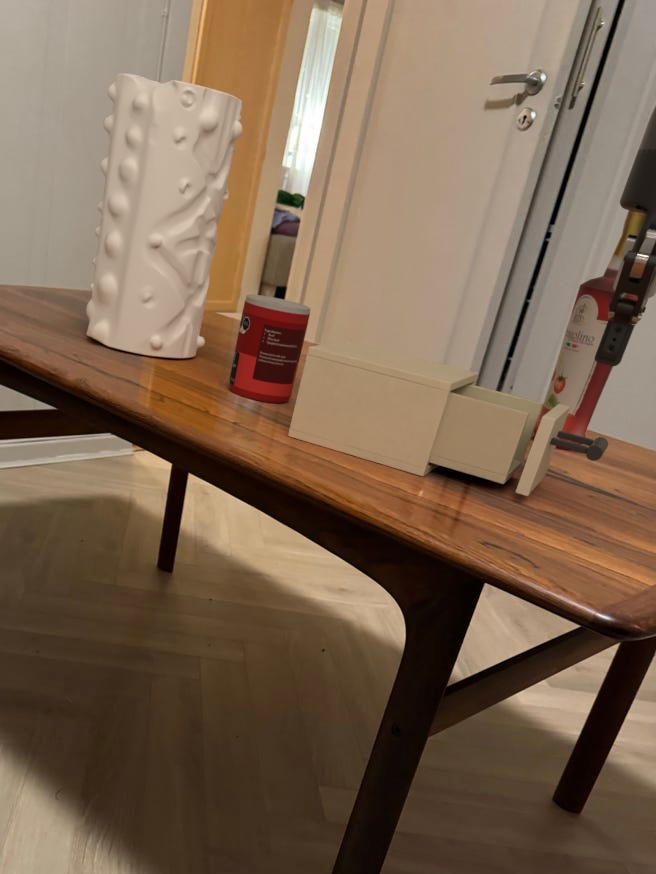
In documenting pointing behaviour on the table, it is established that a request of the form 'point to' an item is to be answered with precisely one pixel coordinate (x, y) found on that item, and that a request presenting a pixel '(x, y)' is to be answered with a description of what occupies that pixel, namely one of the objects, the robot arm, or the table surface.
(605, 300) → the liquor
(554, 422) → the drawer
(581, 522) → the table surface
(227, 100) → the vase
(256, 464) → the table surface
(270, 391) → the canned food
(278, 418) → the table surface
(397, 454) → the cabinet
